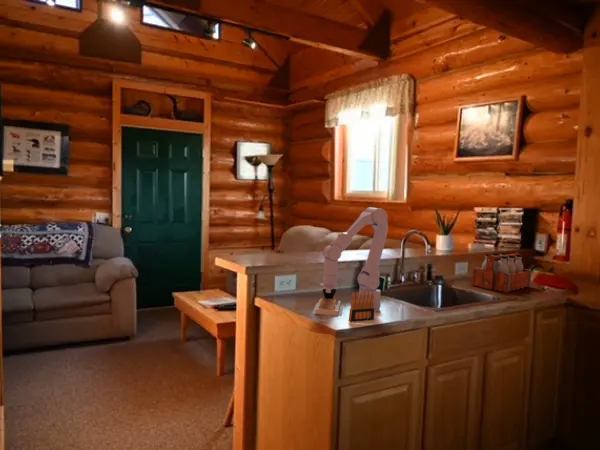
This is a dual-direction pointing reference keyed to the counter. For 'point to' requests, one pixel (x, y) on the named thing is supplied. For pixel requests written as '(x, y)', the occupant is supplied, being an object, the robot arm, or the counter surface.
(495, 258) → the milk bottle holder
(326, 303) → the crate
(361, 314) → the ammunition clip
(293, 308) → the counter surface
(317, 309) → the bay
